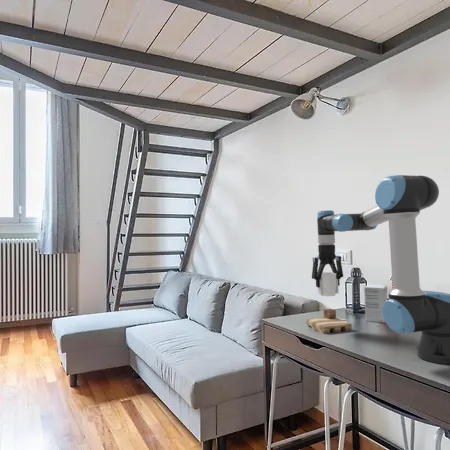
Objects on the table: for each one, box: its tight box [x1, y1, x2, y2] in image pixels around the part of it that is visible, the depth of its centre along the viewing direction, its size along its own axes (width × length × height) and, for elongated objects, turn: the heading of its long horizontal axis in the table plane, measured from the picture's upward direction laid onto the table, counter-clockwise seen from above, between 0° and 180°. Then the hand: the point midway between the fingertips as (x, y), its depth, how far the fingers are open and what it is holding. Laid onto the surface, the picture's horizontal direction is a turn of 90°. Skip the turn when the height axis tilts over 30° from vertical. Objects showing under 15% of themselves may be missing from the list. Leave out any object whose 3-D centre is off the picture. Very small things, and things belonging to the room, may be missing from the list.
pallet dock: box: [306, 316, 353, 335], centre depth 190 cm, size 16×14×3 cm
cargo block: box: [323, 308, 337, 319], centre depth 197 cm, size 4×4×4 cm
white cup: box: [320, 271, 337, 297], centre depth 188 cm, size 8×8×10 cm
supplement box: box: [363, 283, 388, 324], centre depth 202 cm, size 10×9×17 cm
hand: (328, 293), depth 188 cm, fingers closed on white cup, 8 cm apart
